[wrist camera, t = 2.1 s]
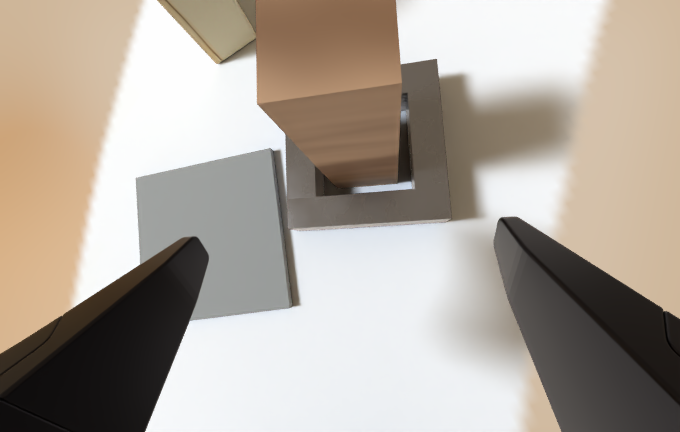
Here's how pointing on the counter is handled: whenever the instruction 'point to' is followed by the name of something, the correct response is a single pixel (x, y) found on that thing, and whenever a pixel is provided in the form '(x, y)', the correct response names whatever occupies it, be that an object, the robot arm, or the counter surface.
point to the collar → (388, 206)
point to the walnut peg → (334, 84)
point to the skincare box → (213, 25)
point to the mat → (222, 230)
